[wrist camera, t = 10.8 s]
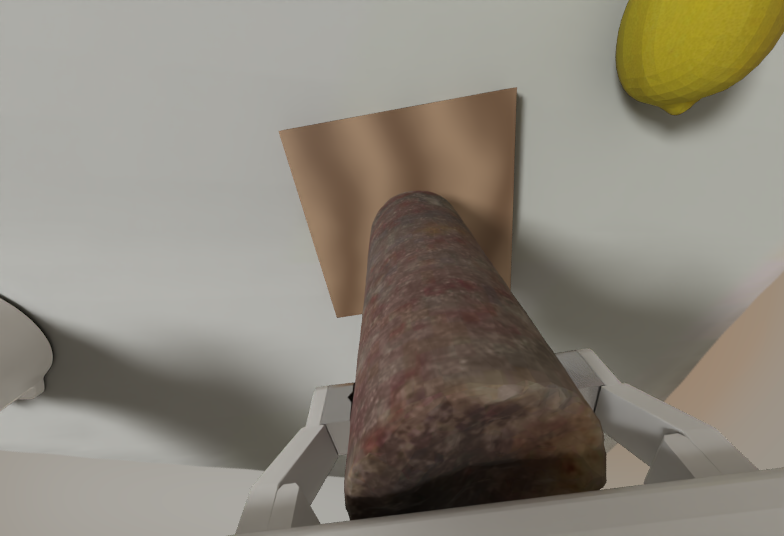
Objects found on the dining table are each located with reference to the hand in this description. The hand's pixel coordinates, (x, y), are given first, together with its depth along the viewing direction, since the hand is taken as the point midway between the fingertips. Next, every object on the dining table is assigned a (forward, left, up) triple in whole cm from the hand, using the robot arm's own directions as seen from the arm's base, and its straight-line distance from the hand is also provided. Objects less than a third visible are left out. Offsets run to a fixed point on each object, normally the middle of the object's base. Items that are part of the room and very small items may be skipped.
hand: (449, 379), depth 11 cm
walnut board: (0, 0, -19) cm, 19 cm away
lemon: (+19, +11, -19) cm, 29 cm away
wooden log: (0, 0, -16) cm, 16 cm away
